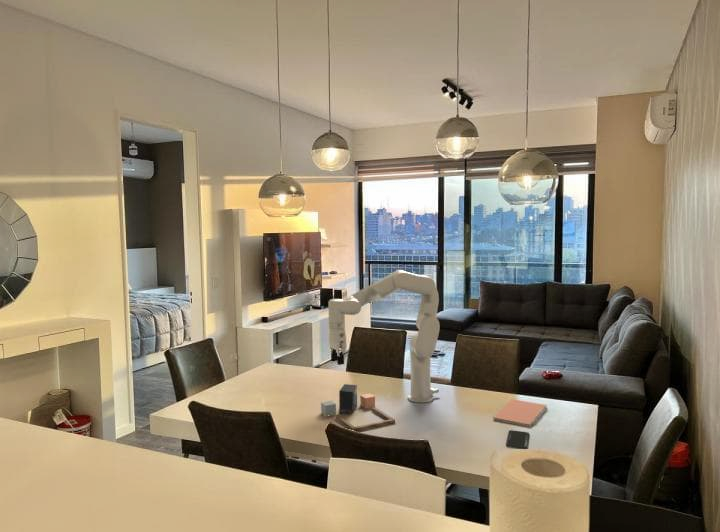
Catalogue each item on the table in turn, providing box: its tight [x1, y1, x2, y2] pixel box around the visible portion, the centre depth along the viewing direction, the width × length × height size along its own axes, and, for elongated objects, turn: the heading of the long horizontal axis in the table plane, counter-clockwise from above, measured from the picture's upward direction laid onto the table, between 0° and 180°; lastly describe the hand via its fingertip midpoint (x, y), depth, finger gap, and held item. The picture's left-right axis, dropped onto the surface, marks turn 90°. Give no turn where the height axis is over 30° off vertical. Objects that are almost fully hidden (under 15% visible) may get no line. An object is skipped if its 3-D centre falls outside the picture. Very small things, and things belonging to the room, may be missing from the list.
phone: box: [505, 429, 530, 450], centre depth 201 cm, size 8×1×15 cm
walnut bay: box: [334, 407, 396, 432], centre depth 224 cm, size 20×18×2 cm
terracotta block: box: [359, 393, 376, 409], centre depth 242 cm, size 5×5×5 cm
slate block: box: [320, 400, 337, 417], centre depth 233 cm, size 5×5×5 cm
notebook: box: [492, 399, 548, 428], centre depth 229 cm, size 27×17×2 cm, turn 147°
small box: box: [338, 383, 358, 415], centre depth 237 cm, size 11×6×10 cm, turn 168°
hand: (337, 362), depth 246 cm, fingers open, 6 cm apart
